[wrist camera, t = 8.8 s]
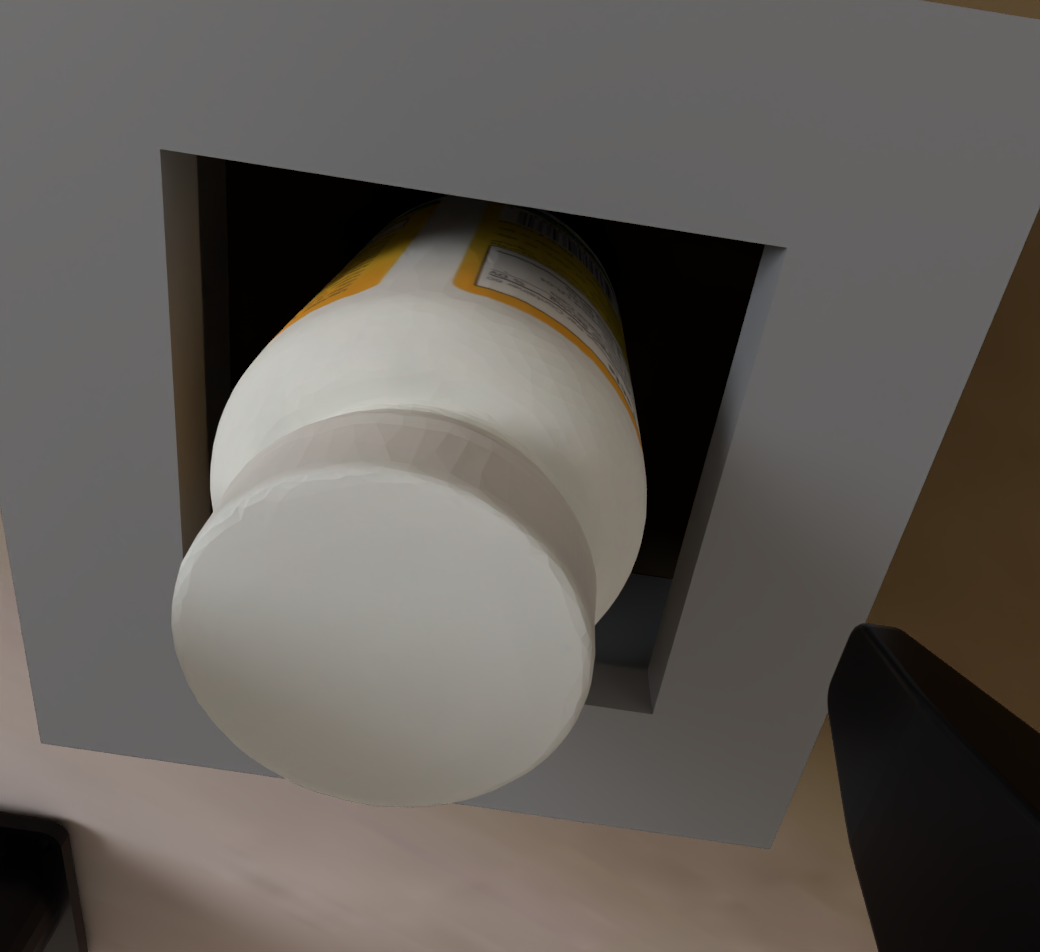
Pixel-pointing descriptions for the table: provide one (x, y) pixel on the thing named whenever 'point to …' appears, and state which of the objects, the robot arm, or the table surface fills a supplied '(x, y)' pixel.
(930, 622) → the table surface
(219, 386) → the drop box
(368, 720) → the supplement bottle
